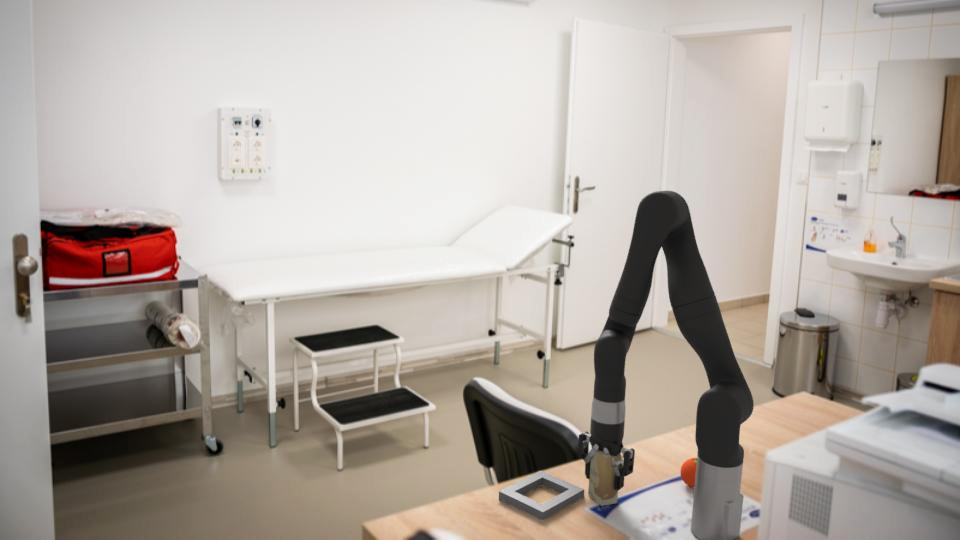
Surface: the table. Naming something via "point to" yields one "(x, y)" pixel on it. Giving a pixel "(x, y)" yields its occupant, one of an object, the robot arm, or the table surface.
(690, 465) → the clementine
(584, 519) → the table surface
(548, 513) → the holder
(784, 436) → the table surface
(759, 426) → the table surface
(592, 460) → the skincare box
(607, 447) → the robot arm
